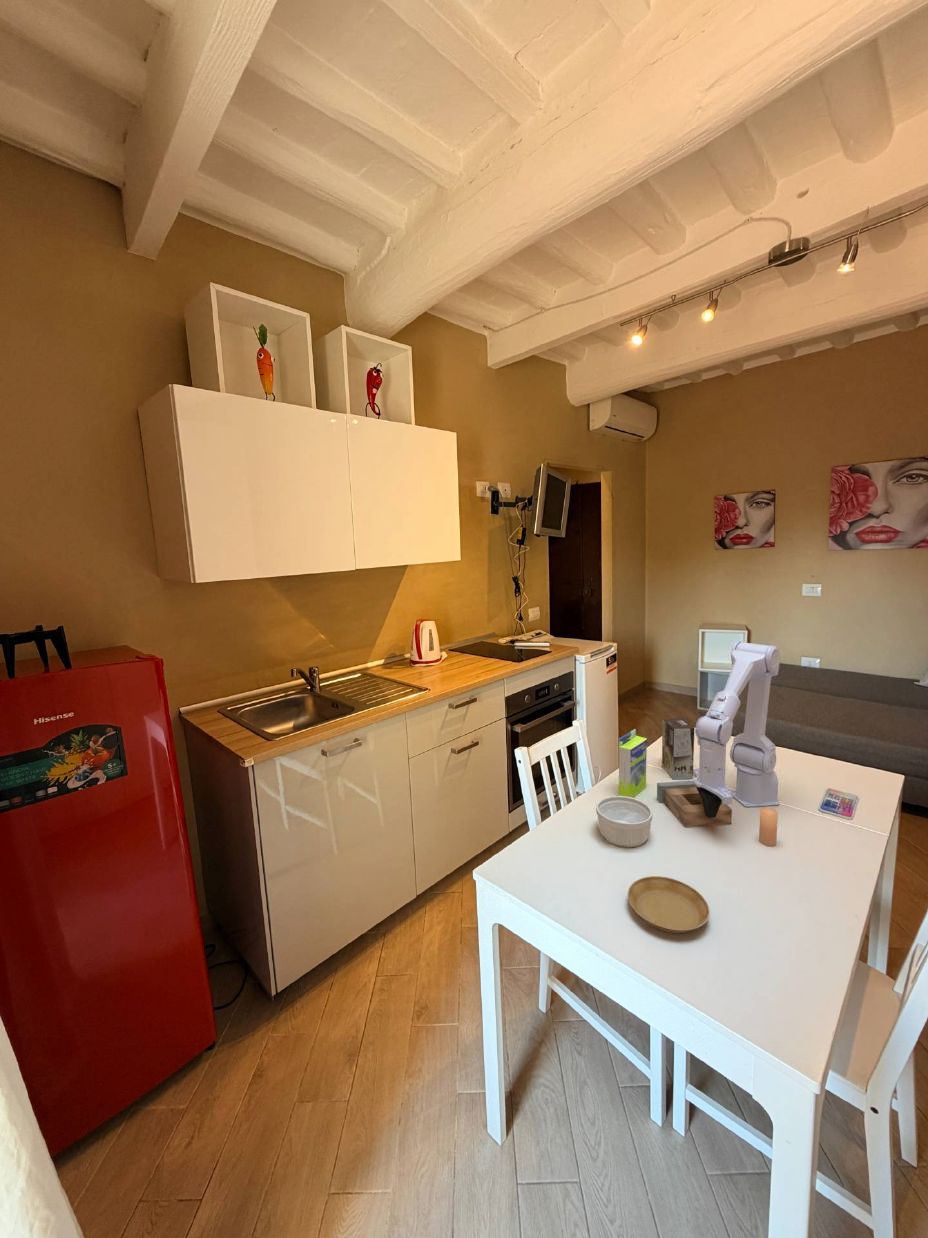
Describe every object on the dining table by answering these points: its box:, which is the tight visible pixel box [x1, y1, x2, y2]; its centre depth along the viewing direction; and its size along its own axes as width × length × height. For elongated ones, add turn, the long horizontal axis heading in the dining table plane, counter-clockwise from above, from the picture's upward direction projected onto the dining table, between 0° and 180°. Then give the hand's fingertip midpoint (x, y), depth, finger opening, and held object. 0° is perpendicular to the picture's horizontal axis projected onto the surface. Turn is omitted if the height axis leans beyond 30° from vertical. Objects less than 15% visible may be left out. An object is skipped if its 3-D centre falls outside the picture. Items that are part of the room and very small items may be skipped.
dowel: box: [758, 806, 779, 848], centre depth 116 cm, size 4×4×8 cm
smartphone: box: [818, 788, 860, 821], centre depth 131 cm, size 7×1×15 cm
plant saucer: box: [627, 875, 710, 934], centre depth 96 cm, size 15×15×3 cm
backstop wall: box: [656, 779, 697, 804], centre depth 136 cm, size 16×2×5 cm, turn 92°
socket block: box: [663, 787, 733, 828], centre depth 130 cm, size 12×12×4 cm
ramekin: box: [595, 795, 653, 848], centre depth 122 cm, size 13×13×7 cm
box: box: [618, 728, 648, 798], centre depth 141 cm, size 10×4×17 cm, turn 135°
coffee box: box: [661, 717, 696, 780], centre depth 152 cm, size 9×6×16 cm
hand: (710, 816), depth 123 cm, fingers closed
